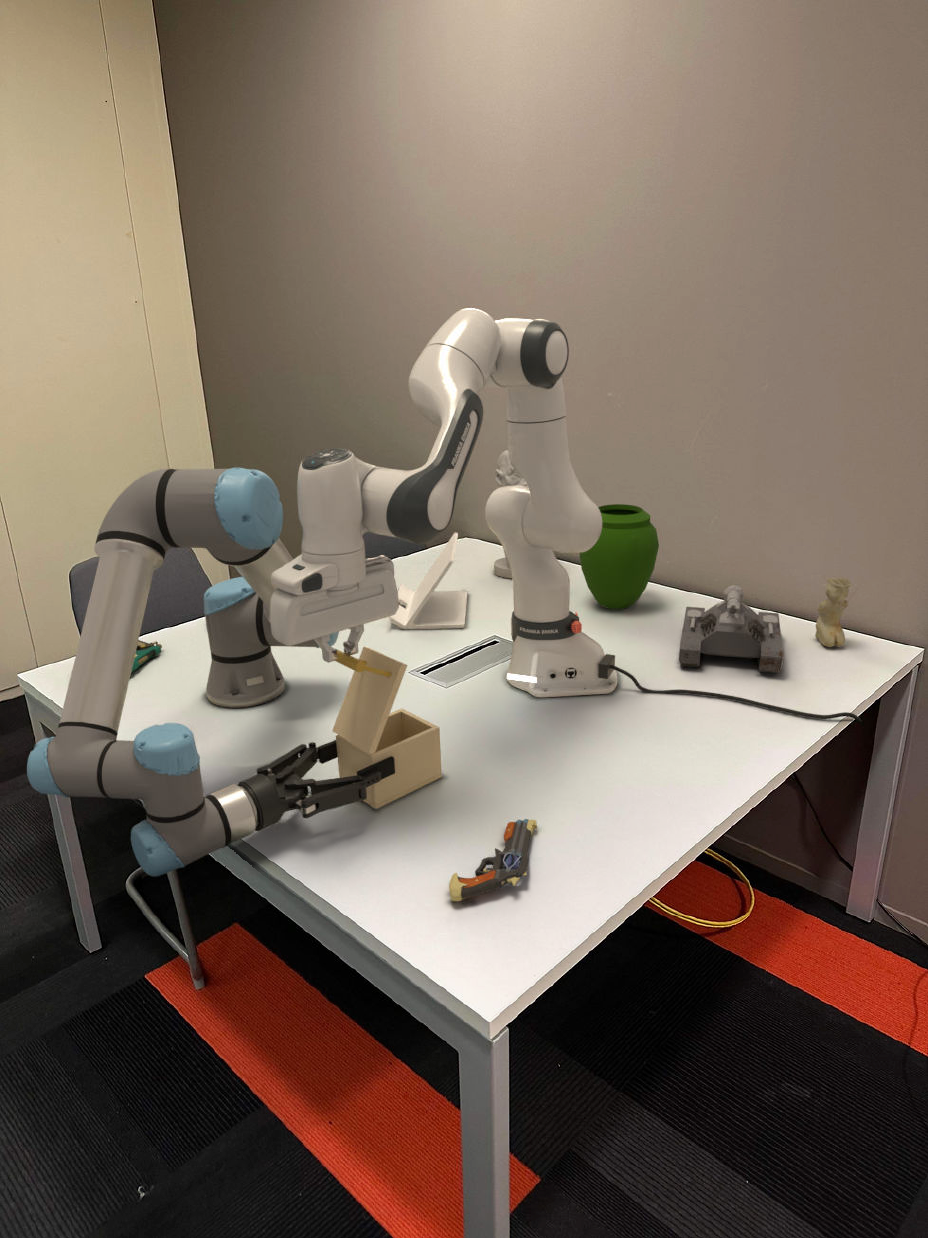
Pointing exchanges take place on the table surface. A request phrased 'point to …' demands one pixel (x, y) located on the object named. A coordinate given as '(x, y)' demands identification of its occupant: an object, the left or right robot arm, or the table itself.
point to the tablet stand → (432, 598)
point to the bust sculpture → (504, 477)
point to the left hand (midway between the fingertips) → (372, 752)
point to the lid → (368, 697)
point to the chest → (396, 757)
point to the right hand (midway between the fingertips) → (340, 657)
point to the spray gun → (145, 653)
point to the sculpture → (832, 613)
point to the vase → (621, 556)
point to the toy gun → (498, 864)
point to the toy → (732, 633)
